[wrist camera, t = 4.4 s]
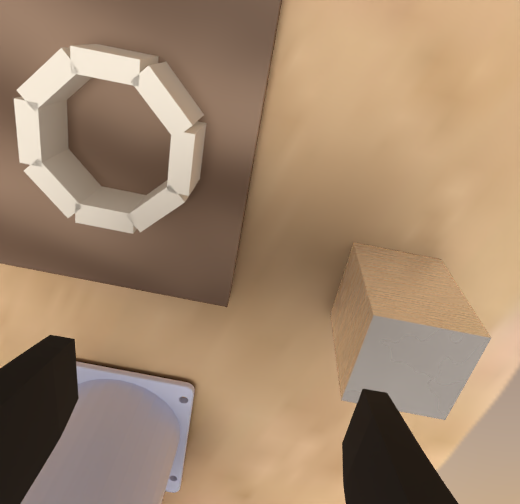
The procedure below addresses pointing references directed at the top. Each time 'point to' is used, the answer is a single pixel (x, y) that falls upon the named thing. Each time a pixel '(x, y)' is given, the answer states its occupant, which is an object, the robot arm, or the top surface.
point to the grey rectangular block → (404, 331)
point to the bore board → (131, 138)
